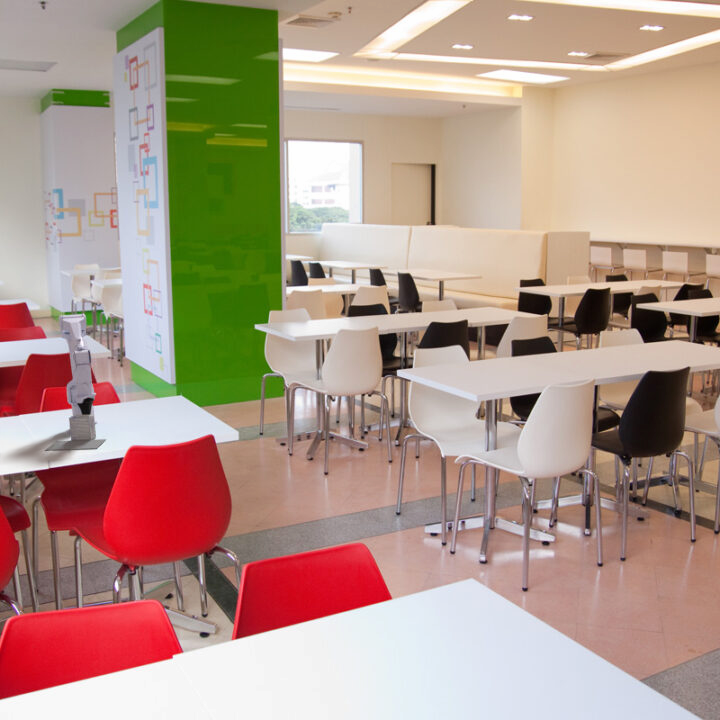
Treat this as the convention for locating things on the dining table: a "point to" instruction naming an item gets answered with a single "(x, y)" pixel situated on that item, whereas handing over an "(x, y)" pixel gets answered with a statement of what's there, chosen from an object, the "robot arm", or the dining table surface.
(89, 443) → the mat
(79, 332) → the robot arm
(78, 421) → the medicine box
